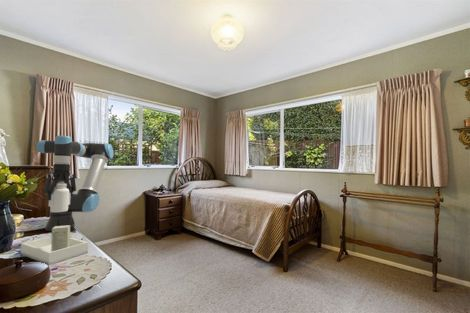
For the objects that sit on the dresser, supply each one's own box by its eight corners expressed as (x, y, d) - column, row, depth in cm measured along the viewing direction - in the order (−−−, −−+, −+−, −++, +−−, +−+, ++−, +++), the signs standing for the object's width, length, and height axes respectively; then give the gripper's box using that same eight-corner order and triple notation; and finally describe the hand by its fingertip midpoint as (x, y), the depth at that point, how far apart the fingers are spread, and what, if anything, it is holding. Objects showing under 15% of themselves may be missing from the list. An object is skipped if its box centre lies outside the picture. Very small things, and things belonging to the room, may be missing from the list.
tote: (59, 244, 122) (59, 234, 122) (87, 252, 111) (88, 242, 111) (20, 254, 107) (21, 243, 108) (48, 265, 97) (49, 253, 97)
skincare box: (69, 250, 111) (71, 224, 111) (67, 254, 107) (68, 227, 107) (53, 252, 108) (55, 225, 109) (50, 255, 104) (51, 228, 105)
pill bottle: (52, 213, 122) (54, 184, 123) (48, 211, 127) (49, 183, 128) (70, 211, 128) (71, 183, 129) (65, 209, 133) (66, 183, 134)
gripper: (77, 164, 140) (75, 202, 139) (35, 163, 121) (33, 207, 120) (85, 164, 136) (82, 203, 135) (43, 163, 118) (40, 208, 117)
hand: (59, 205), depth 128 cm, fingers closed on pill bottle, 8 cm apart
